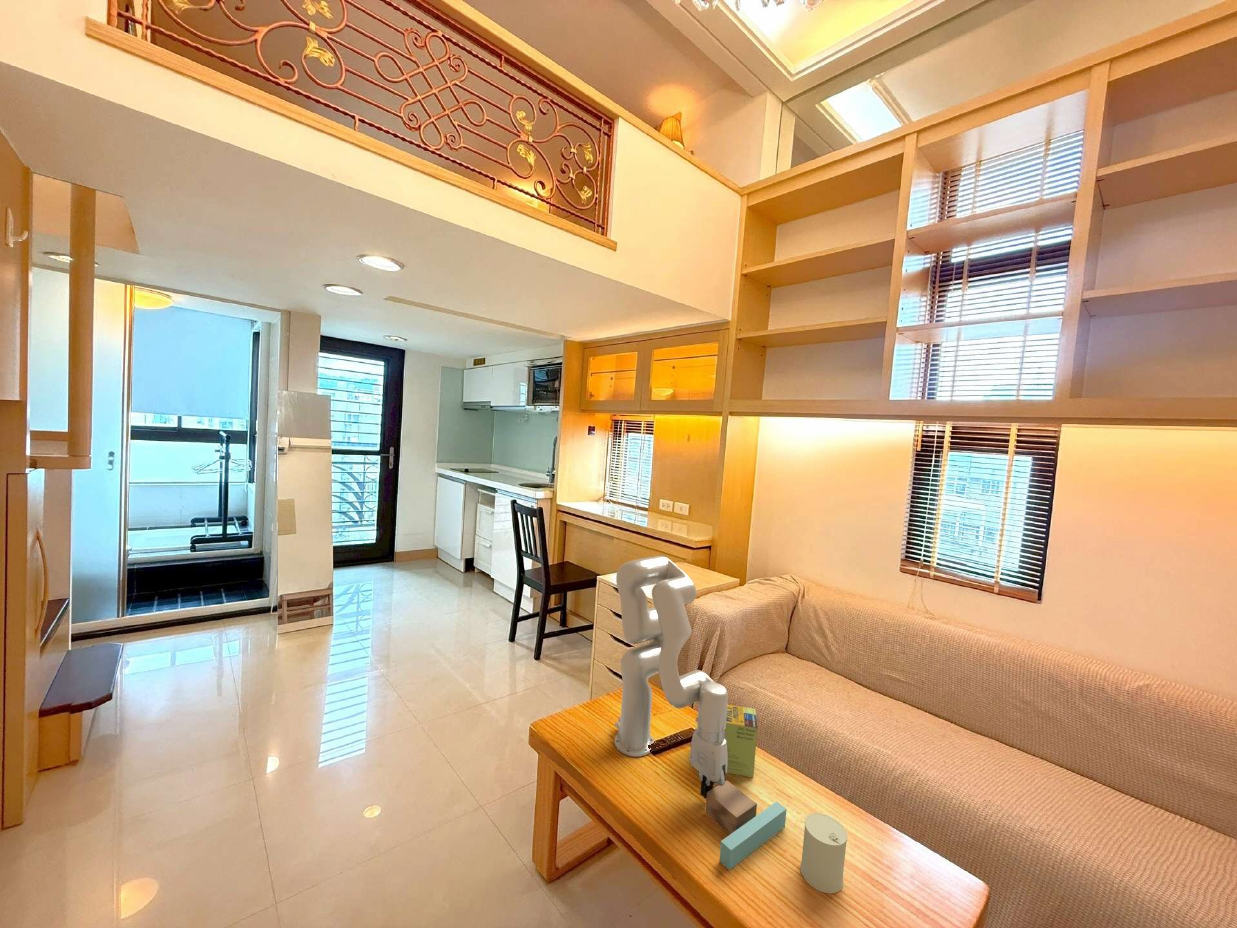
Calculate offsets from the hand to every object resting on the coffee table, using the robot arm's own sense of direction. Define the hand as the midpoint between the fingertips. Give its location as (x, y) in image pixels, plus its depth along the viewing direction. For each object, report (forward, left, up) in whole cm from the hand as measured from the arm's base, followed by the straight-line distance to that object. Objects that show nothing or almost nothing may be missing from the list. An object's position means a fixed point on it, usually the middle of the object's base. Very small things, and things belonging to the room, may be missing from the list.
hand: (706, 794), depth 134 cm
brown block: (+7, +1, -2) cm, 8 cm away
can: (+30, +6, -2) cm, 31 cm away
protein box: (-8, +18, -3) cm, 20 cm away
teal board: (+16, 0, -2) cm, 16 cm away
